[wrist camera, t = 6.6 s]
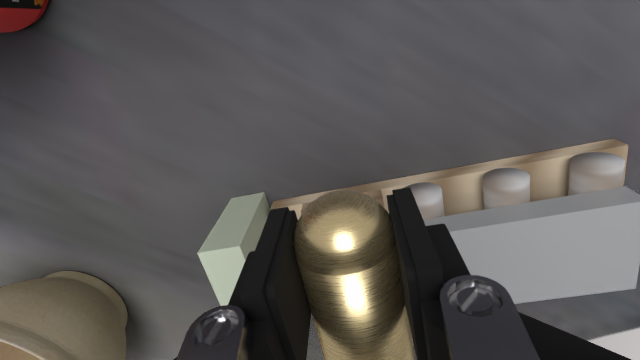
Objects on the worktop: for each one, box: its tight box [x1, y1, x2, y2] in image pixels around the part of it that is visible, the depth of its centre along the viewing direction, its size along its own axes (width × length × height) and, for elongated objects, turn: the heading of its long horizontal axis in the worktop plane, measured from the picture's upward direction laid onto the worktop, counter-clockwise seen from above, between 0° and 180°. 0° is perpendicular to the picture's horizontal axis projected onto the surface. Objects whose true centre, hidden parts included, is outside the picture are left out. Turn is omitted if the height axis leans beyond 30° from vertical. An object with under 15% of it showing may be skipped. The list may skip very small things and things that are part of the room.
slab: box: [424, 186, 640, 304], centre depth 25 cm, size 16×7×2 cm, turn 103°
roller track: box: [270, 139, 628, 220], centre depth 29 cm, size 27×10×4 cm, turn 103°
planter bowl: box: [0, 271, 128, 360], centre depth 32 cm, size 16×16×11 cm
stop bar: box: [198, 192, 270, 306], centre depth 29 cm, size 3×12×8 cm, turn 13°
